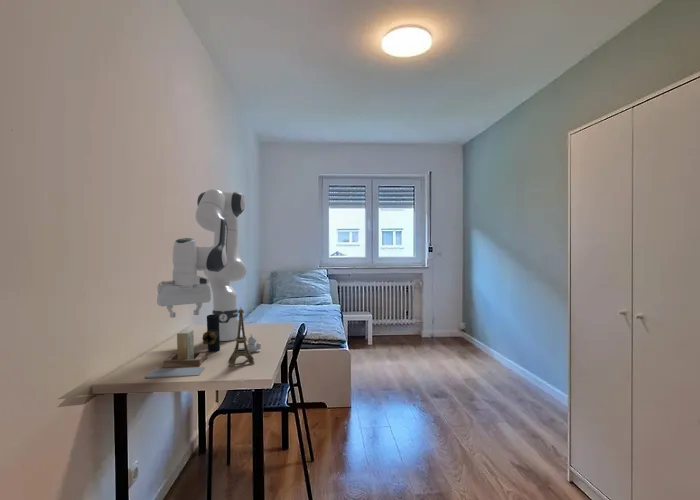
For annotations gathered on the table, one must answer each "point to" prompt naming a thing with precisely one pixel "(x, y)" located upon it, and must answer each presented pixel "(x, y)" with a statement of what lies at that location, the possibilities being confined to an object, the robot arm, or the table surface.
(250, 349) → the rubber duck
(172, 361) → the walnut socket
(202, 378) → the table surface
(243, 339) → the eiffel tower
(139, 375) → the table surface
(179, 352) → the skincare box
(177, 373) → the grey mat
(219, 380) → the table surface
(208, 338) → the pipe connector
